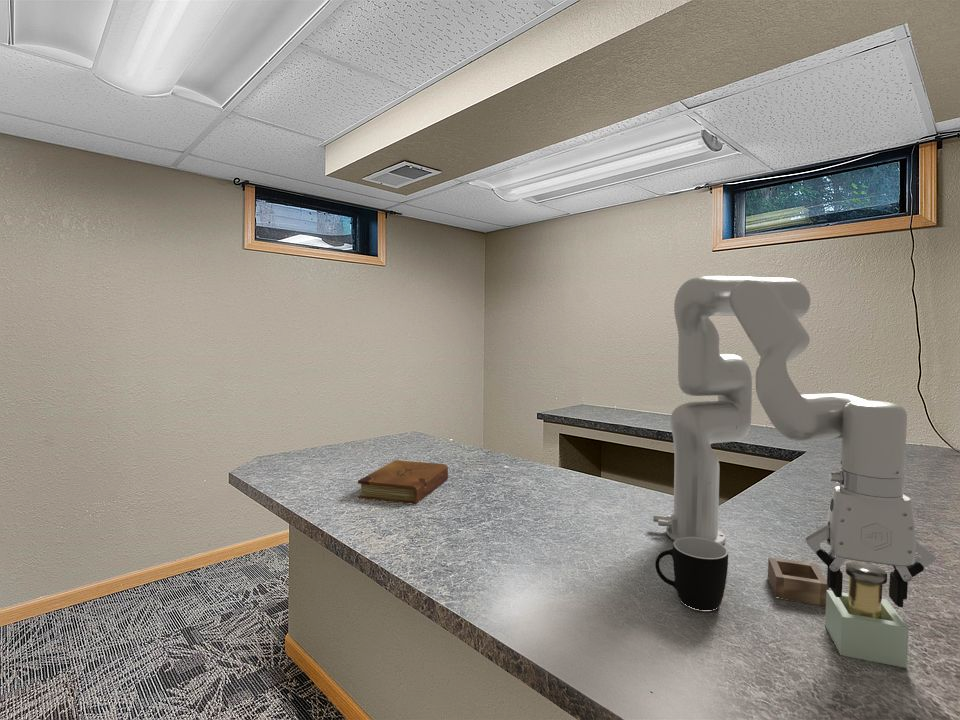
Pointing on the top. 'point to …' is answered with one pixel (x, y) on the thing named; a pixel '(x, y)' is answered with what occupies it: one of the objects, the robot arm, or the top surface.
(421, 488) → the diary
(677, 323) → the robot arm
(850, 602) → the pin
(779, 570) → the mount
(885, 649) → the socket
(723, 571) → the mug
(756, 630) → the top surface
